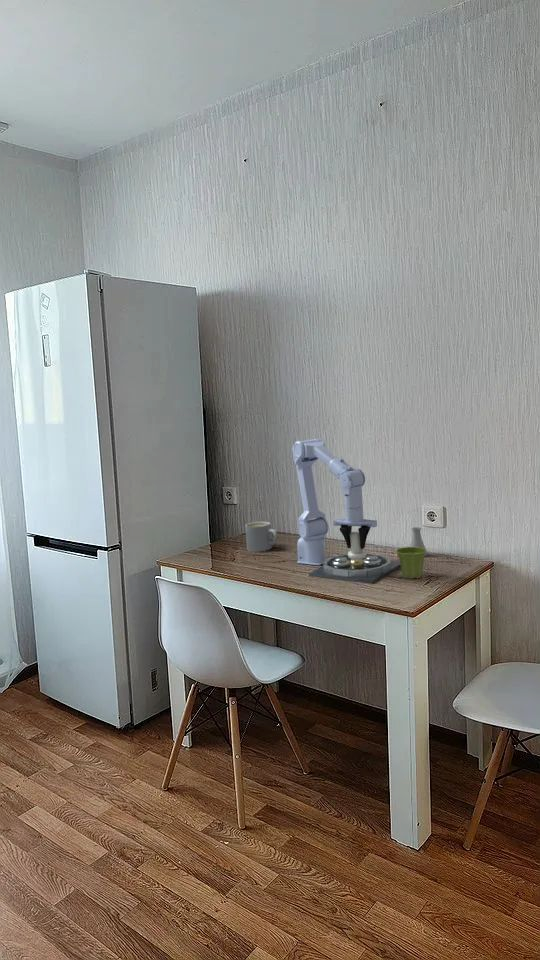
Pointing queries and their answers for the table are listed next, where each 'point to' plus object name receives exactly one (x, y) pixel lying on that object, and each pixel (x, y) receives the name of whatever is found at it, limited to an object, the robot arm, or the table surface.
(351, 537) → the white mushroom peg
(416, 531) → the flask
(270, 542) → the coffee mug
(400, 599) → the table surface
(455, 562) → the table surface
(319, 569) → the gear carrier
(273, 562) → the table surface
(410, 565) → the plant pot
